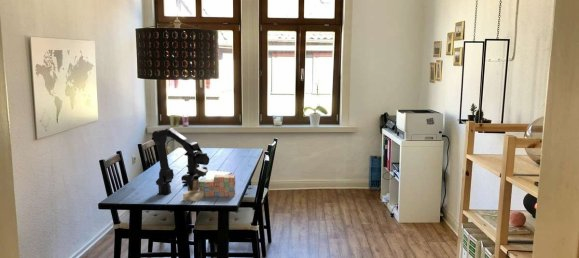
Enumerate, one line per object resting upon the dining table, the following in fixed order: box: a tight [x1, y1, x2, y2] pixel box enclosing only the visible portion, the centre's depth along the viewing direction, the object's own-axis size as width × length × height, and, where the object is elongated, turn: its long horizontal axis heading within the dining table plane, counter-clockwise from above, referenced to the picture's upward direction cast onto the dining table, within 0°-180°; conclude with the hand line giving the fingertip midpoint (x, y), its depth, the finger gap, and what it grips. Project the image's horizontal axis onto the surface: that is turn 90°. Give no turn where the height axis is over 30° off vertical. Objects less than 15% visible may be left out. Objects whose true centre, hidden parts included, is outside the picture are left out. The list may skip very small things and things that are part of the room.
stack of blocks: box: [198, 174, 236, 198], centre depth 277 cm, size 21×6×12 cm, turn 90°
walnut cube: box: [186, 179, 200, 192], centre depth 270 cm, size 5×5×6 cm
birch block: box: [182, 190, 205, 202], centre depth 271 cm, size 9×9×4 cm
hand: (193, 188), depth 270 cm, fingers closed on walnut cube, 5 cm apart
